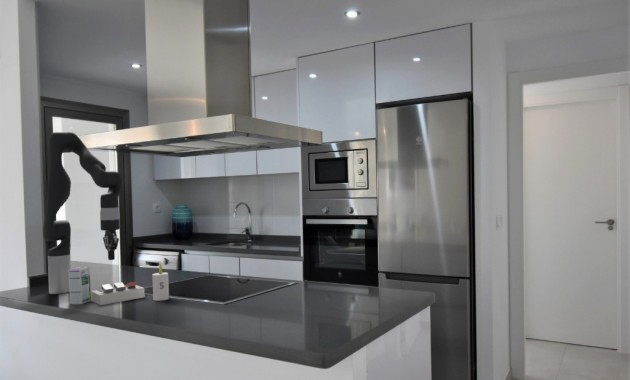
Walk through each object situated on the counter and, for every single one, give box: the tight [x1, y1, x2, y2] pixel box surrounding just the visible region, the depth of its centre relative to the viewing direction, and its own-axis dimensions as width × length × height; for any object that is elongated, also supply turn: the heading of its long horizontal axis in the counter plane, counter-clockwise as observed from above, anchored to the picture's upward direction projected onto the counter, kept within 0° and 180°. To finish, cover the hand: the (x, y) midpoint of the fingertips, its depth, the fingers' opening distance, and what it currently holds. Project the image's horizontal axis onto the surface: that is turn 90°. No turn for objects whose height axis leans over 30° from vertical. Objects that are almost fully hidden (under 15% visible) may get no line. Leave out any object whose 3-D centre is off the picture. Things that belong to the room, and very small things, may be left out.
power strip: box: [90, 285, 153, 306], centre depth 203 cm, size 12×24×5 cm, turn 131°
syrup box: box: [68, 266, 92, 305], centre depth 197 cm, size 6×6×14 cm
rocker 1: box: [101, 283, 114, 293], centre depth 196 cm, size 5×3×2 cm, turn 41°
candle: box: [151, 262, 170, 301], centre depth 199 cm, size 6×6×15 cm
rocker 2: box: [113, 281, 126, 291], centre depth 200 cm, size 5×3×2 cm, turn 41°
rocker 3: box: [125, 281, 139, 288], centre depth 203 cm, size 5×3×2 cm, turn 42°
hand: (111, 259), depth 199 cm, fingers closed
